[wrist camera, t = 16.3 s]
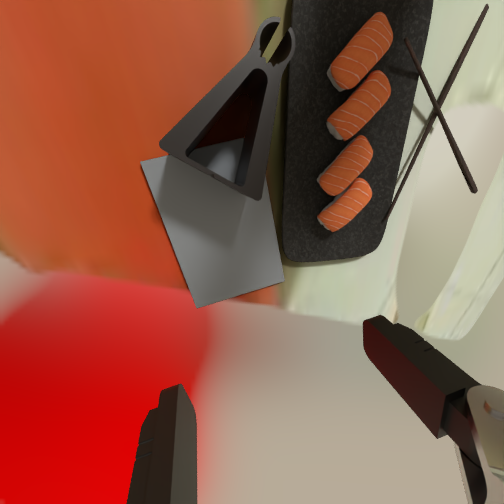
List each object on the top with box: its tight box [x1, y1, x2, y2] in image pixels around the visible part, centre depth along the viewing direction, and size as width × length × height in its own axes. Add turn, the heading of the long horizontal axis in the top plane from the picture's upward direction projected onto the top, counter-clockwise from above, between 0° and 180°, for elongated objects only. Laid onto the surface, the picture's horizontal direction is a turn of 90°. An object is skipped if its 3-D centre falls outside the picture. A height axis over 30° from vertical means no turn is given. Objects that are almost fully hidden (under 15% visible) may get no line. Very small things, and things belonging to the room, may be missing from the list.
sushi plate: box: [282, 0, 489, 262], centre depth 28 cm, size 29×30×4 cm
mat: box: [140, 138, 285, 308], centre depth 28 cm, size 12×18×1 cm, turn 12°
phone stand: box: [159, 17, 295, 201], centre depth 21 cm, size 9×6×12 cm
